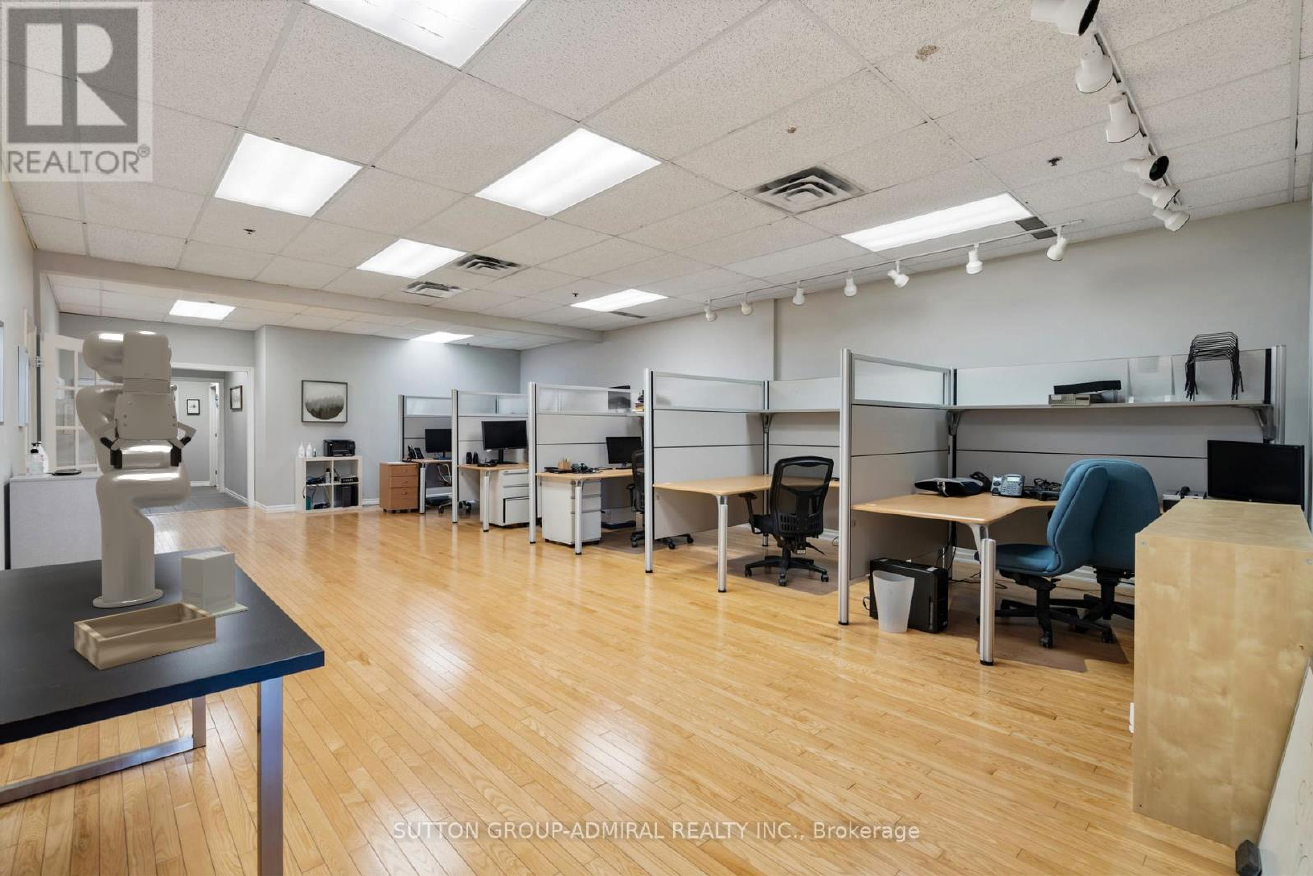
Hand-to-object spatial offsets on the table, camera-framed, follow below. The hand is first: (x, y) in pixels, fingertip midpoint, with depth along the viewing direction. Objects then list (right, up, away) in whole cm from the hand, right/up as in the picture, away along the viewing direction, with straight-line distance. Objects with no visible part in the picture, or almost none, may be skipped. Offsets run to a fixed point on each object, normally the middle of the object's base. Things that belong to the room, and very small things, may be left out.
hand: (147, 467), depth 128 cm
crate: (+12, -34, -14) cm, 38 cm away
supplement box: (+9, -33, +6) cm, 35 cm away
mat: (+9, -33, +7) cm, 35 cm away
